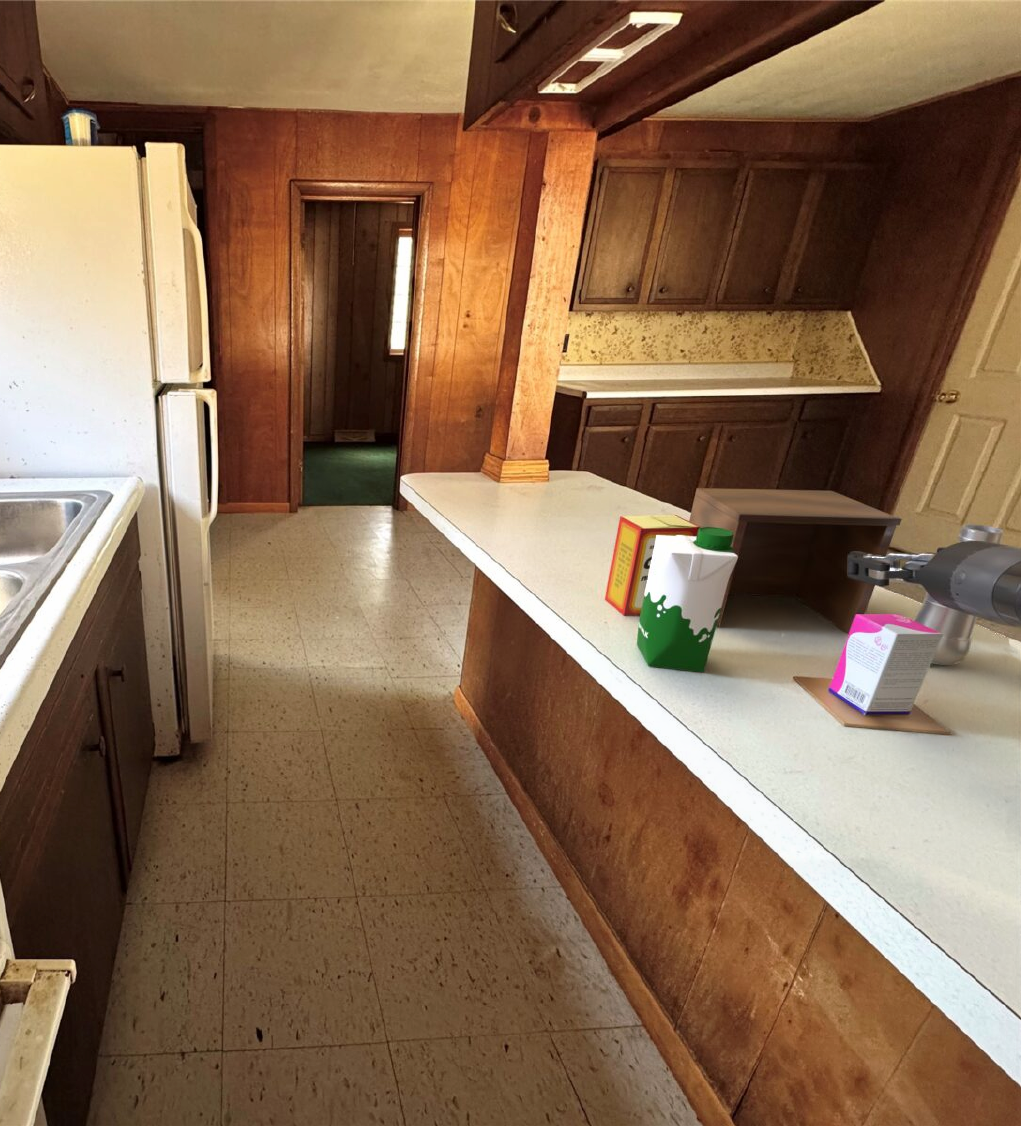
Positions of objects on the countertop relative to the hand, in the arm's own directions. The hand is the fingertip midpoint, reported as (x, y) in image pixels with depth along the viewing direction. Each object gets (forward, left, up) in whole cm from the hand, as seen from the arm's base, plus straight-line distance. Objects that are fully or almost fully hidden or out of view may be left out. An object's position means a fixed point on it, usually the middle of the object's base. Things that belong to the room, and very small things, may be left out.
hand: (896, 557), depth 76 cm
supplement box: (0, +4, -19) cm, 19 cm away
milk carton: (+20, -5, -19) cm, 28 cm away
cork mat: (0, +4, -19) cm, 19 cm away
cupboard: (0, -24, -19) cm, 31 cm away
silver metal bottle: (-16, -10, -19) cm, 27 cm away
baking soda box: (+18, -23, -19) cm, 35 cm away
